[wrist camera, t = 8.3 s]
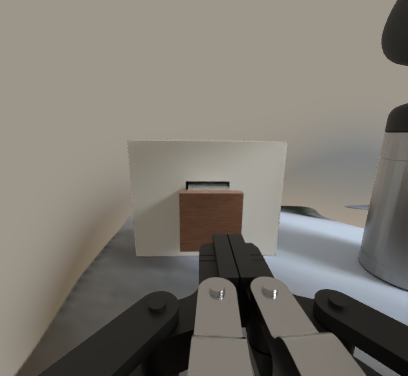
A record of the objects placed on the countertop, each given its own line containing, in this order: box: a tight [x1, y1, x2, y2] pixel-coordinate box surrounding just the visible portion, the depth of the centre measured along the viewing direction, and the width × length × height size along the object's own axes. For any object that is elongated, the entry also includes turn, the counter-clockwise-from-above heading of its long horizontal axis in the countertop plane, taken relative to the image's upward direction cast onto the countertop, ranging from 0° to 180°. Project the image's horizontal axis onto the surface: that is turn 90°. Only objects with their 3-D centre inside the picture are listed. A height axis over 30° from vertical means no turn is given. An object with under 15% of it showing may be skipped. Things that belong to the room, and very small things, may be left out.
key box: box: [128, 139, 287, 256], centre depth 32 cm, size 20×8×16 cm, turn 92°
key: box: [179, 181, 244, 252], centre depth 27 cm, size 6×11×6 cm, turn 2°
